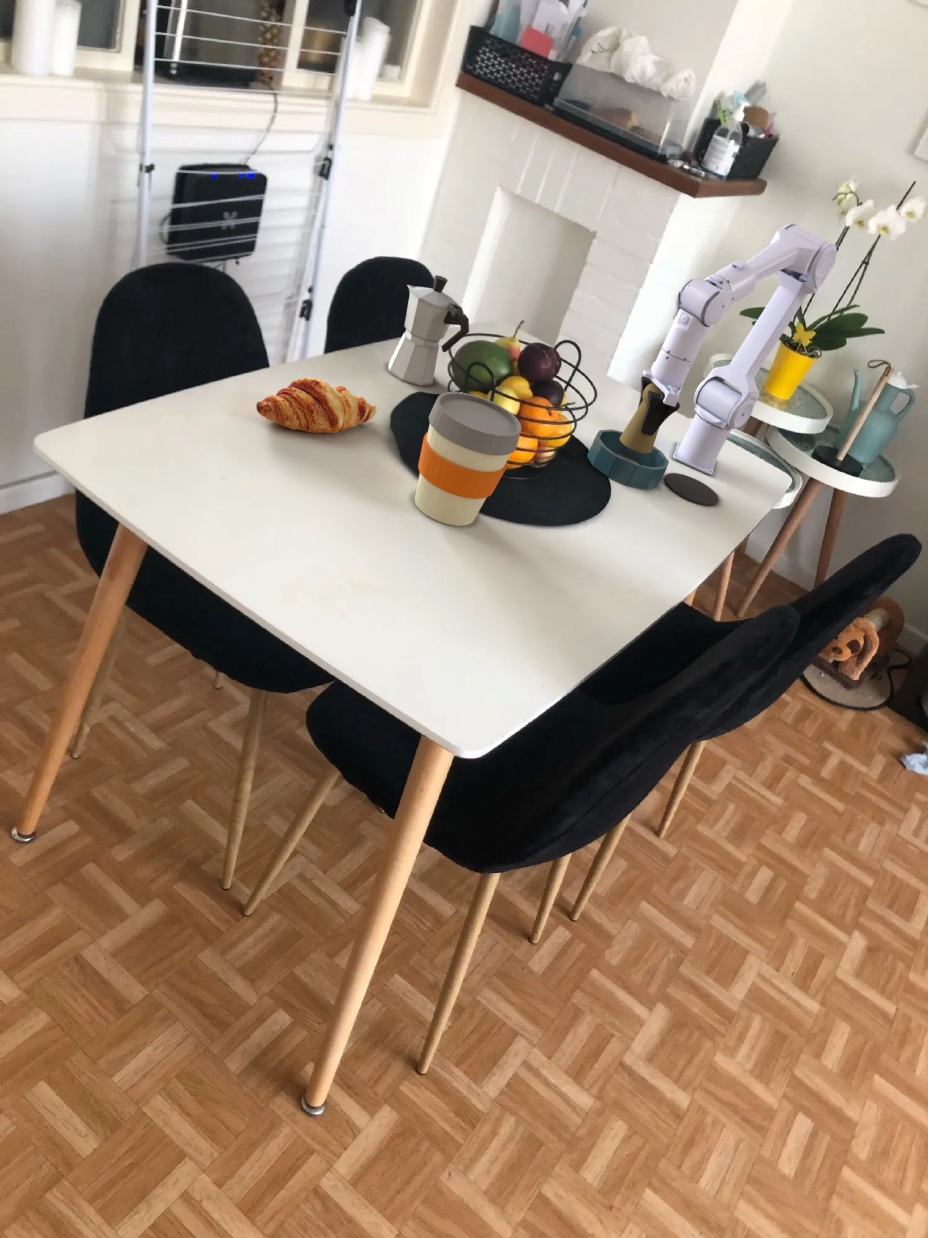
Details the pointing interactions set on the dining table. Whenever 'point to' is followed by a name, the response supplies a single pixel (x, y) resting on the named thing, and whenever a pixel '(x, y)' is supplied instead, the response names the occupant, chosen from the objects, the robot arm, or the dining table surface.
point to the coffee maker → (426, 332)
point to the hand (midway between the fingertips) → (643, 426)
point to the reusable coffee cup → (463, 456)
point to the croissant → (316, 407)
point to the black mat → (691, 489)
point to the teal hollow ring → (626, 461)
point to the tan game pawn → (633, 430)
